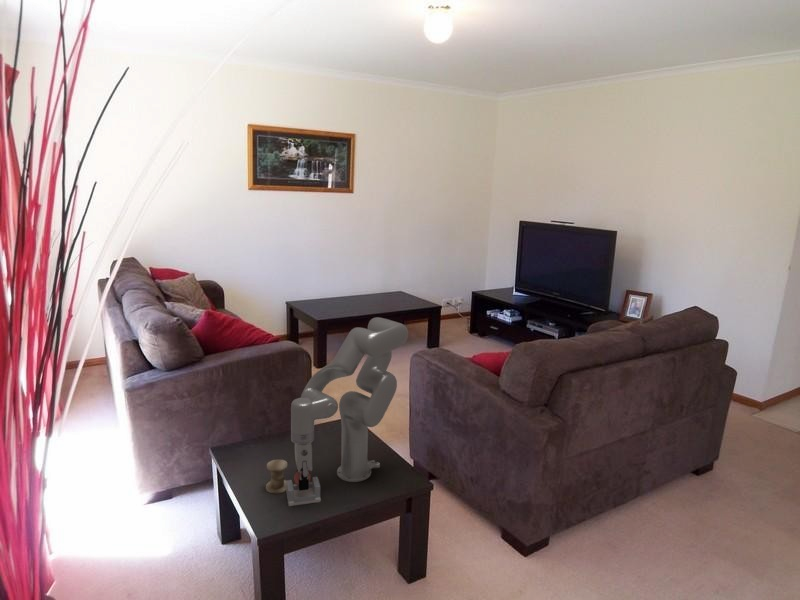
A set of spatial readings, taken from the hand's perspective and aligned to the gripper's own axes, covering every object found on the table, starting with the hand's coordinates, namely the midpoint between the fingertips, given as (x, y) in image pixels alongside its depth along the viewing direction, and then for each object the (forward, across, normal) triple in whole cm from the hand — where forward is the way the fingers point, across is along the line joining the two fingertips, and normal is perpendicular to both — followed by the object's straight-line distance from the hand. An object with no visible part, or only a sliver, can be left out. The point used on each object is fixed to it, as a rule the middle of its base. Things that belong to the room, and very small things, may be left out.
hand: (302, 484), depth 183 cm
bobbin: (+5, +8, +8) cm, 12 cm away
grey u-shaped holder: (+5, 0, 0) cm, 5 cm away
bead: (0, 0, 0) cm, 0 cm away
